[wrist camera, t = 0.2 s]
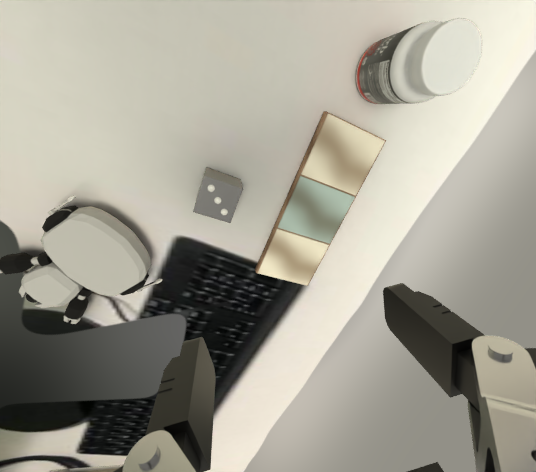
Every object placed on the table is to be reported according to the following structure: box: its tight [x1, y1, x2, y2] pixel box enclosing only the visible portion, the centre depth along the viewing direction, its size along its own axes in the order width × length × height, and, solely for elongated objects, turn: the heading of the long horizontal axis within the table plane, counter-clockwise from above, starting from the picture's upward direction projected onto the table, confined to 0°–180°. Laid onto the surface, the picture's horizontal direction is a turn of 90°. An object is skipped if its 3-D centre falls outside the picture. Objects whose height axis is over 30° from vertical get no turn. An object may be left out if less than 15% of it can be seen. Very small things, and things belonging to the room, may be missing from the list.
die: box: [193, 167, 243, 223], centre depth 29 cm, size 4×4×4 cm
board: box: [255, 112, 386, 286], centre depth 33 cm, size 21×8×1 cm, turn 158°
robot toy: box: [0, 195, 162, 324], centre depth 30 cm, size 12×4×15 cm
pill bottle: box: [356, 18, 482, 104], centre depth 23 cm, size 6×6×10 cm
